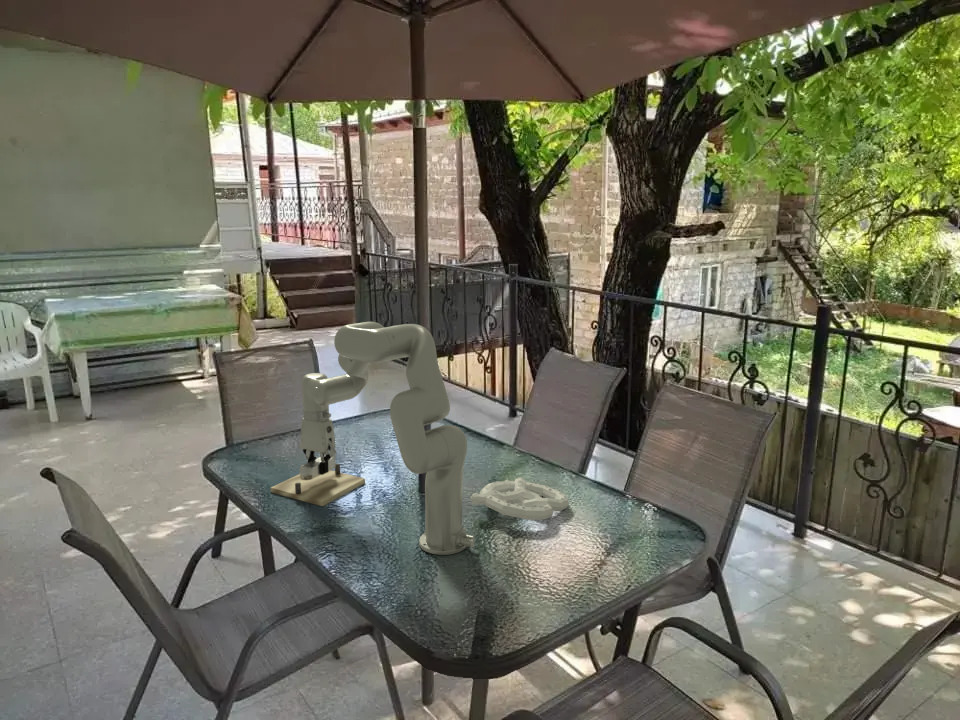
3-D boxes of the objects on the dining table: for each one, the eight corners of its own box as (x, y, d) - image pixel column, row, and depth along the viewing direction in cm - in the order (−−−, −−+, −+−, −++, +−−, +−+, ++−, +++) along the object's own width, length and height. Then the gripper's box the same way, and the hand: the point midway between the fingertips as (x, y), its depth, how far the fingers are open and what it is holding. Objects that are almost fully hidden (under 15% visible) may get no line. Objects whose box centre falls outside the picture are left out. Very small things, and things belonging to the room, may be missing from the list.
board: (365, 482, 220) (364, 469, 219) (322, 506, 202) (321, 491, 201) (315, 470, 229) (315, 457, 228) (270, 492, 212) (270, 478, 211)
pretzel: (508, 488, 221) (511, 469, 220) (577, 510, 208) (580, 489, 208) (458, 508, 197) (461, 486, 197) (532, 533, 185) (535, 510, 184)
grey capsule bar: (338, 466, 219) (337, 455, 219) (307, 481, 207) (307, 470, 207) (328, 463, 221) (327, 453, 221) (297, 478, 209) (296, 467, 208)
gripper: (346, 415, 210) (347, 473, 214) (303, 407, 217) (305, 462, 221) (329, 422, 203) (331, 481, 207) (286, 413, 211) (289, 470, 215)
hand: (318, 471), depth 214 cm, fingers closed on grey capsule bar, 4 cm apart
